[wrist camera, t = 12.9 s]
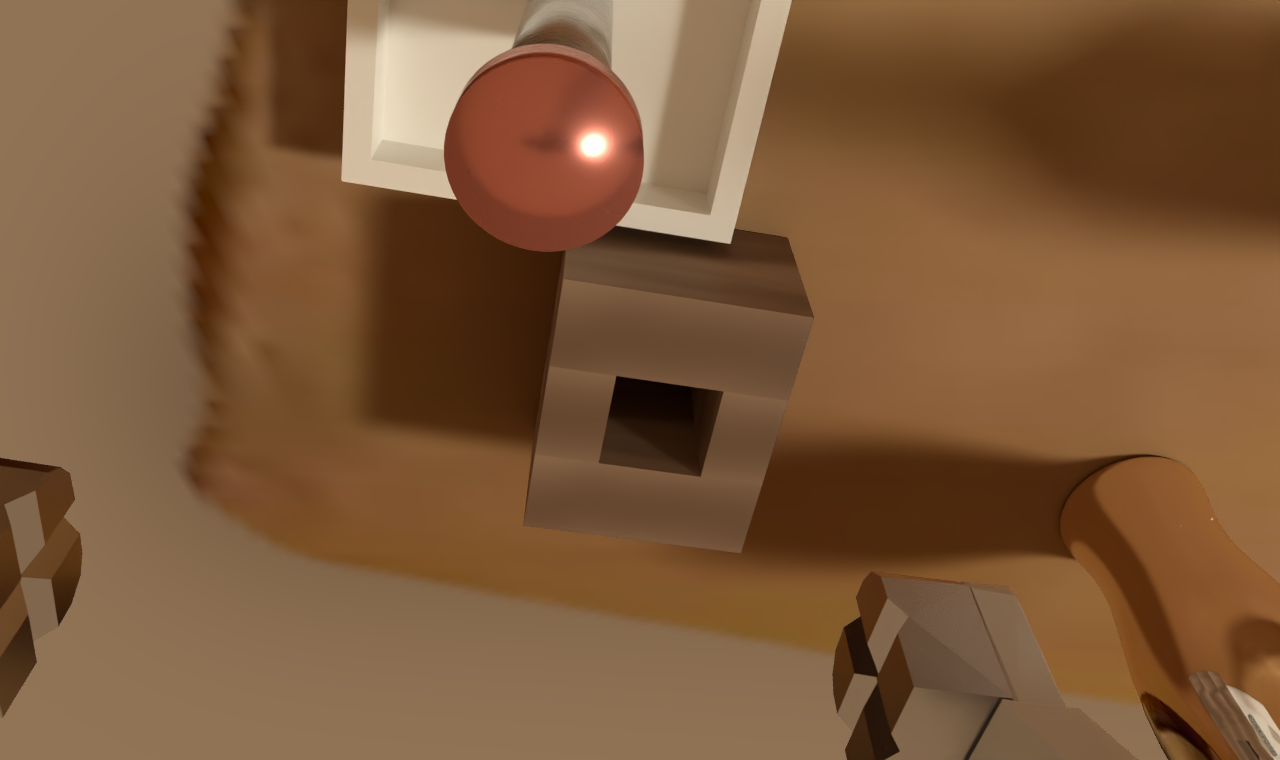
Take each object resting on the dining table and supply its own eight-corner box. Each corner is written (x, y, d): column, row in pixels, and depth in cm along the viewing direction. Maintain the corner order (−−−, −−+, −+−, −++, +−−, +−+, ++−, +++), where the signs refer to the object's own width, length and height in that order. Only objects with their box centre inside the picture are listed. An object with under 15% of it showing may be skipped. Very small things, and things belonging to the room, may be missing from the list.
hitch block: (570, 202, 37) (563, 278, 32) (787, 237, 38) (813, 317, 33) (534, 429, 42) (523, 525, 37) (726, 455, 43) (740, 553, 38)
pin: (516, -79, 32) (452, 42, 20) (646, -55, 32) (661, 80, 20) (501, 52, 34) (435, 235, 22) (623, 74, 34) (624, 265, 22)
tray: (376, -285, 29) (357, -286, 27) (822, -190, 31) (837, -183, 29) (357, 153, 36) (341, 181, 34) (723, 214, 38) (730, 244, 35)
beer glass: (1208, 553, 47) (1429, 863, 34) (1051, 583, 48) (1209, 897, 35) (1215, 430, 43) (1464, 726, 31) (1044, 465, 44) (1219, 768, 31)
